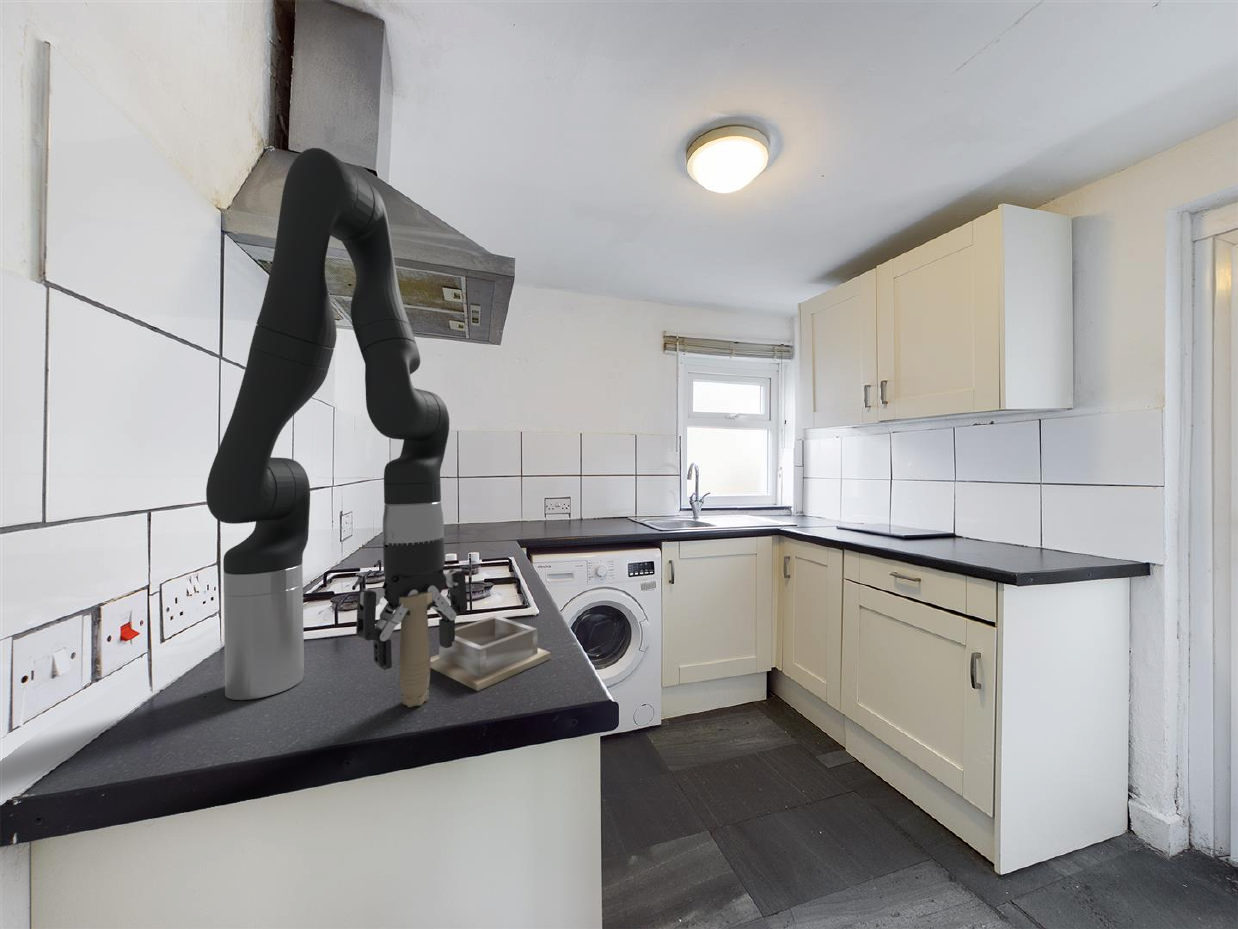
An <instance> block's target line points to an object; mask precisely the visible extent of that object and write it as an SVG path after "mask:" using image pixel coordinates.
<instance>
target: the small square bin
mask: <svg viewBox="0 0 1238 929" xmlns="http://www.w3.org/2000/svg"><path fill="white" fill-rule="evenodd" d="M538 639H539V638H538V628H536V627H534V626H531V625H526V624H523V623H521V622H517V621H515V620H512V619H507V618H505V617H501V616H498V615H494V616H491V617H488V618H484V619H480V620H477V621H474V622H471V623H468V624H464V625H461V626H459V627H455V640H454V642H452V647H449V648H444V647H442V646H441V645H440V642H439V641H438V644H439V646H438V648H439V649H438V654H436V655H433V656H430V669H432V670H434V671H435V672H439V673H440V674H443V676H447V677H448V678H451V679H453V680H454V681H457V682H458V683H461V684H462V685H465V686H466V687H468V688H470V689H472V690H475V691H476V692H479V691H481V690H483V689H486V688H488V687H490V686H493V685H495V684H497V683H499V682H501V681H504V680H506V679H509V678H511V677H513V676H515V675H517V674H519V673H521V672H524V671H526V670H529V669H530V668H531V669H532V668H533V667H535V666H537V665H539V664H543V663H545V662H546V661H549V660H551V659H552V652H550V651H547V650H545V649H542V648H539V646H538V645H539V644H538Z"/></svg>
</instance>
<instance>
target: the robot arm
mask: <svg viewBox="0 0 1238 929" xmlns="http://www.w3.org/2000/svg"><path fill="white" fill-rule="evenodd" d="M279 209H280V210H279V216H278V224H277V232H276V239H275V243H274V244H275V246H274V252H273V258H272V262H271V267H270V272H269V275H268V281H267V285H266V289H265V294H264V297H263V301H262V304H261V309H260V311H259V315H258V317H257V320H256V323H255V324H256V325H255V327H254V330H253V335H252V339H251V343H250V346H249V351H248V356H247V361H246V365H245V366H246V367H245V370H244V374H243V378H242V380H241V384H240V387H239V391H238V394H237V398H236V401H235V404H234V408H233V411H232V415H231V416H230V419H229V421H228V424H227V427H226V430H225V432H224V434H223V437H222V440H221V441H220V444H219V448H218V449H217V453H216V454H215V457H214V459H213V462H212V464H211V468H210V470H209V473H208V477H207V483H206V487H205V488H206V489H205V490H206V491H205V494H206V495H205V496H206V499H205V500H206V504H207V507H208V511H209V512H210V514H211V515H212V517H214V518H215V519H216V520H218V521H219V522H221V523H224V524H230V525H231V524H238V525H239V524H248V523H255V525H254V526H255V527H254V529H253V531H252V532H251V534H250V535H249V536H248V537H246V538H245V539H244V540H243V541H241V542H239V543H238V544H237V545H234V546H232V547H231V548H230V549H229V548H228V550H226V552H225V554H224V555H223V561H222V562H223V564H222V566H223V615H224V616H223V617H224V618H223V619H224V620H223V623H224V624H223V625H224V626H223V628H224V630H223V631H224V632H223V633H224V635H223V636H224V639H223V640H224V696H225V697H226V698H227V699H229V700H235V701H237V700H238V701H245V700H255V699H260V698H264V697H270V696H272V695H276V694H279V693H282V692H284V691H288V690H289V689H291V688H293V687H295V686H296V685H298V684H300V683H301V682H302V681H303V679H304V676H305V673H304V672H305V667H304V666H305V664H304V662H305V659H304V658H305V657H304V656H305V654H304V652H305V651H304V648H305V647H304V645H305V644H304V643H305V642H304V584H303V583H304V580H303V579H304V578H303V573H304V572H303V559H304V558H303V555H304V552H305V549H306V547H307V544H308V541H309V533H310V532H309V531H310V530H309V527H310V512H311V510H310V509H311V485H310V481H309V480H310V479H309V476H308V474H307V472H306V469H305V468H304V467H303V465H301V463H299V461H296V460H295V459H292V458H288V457H276V456H275V457H272V454H273V450H274V447H275V444H276V443H277V440H278V438H279V436H280V433H281V432H282V430H283V429H284V427H285V426H286V425H287V423H288V422H289V421H290V420H291V418H293V417H294V415H296V413H298V412H299V410H300V409H301V408H303V407H304V406H305V404H307V403H308V401H309V400H310V399H311V398H312V397H313V396H314V395H315V394H316V393H317V392H318V391H319V389H320V388H321V386H322V385H323V384H324V382H325V380H326V378H327V374H328V372H329V368H330V365H331V361H332V358H333V354H334V350H335V347H336V342H337V336H338V335H337V324H336V320H335V319H336V317H335V314H334V311H333V306H332V301H331V298H330V294H329V289H328V285H327V279H326V258H327V252H328V248H329V242H330V239H331V237H333V238H334V239H336V240H338V241H340V242H341V243H342V244H343V246H344V248H345V249H346V252H347V254H348V255H349V257H350V260H351V262H352V264H353V269H354V271H355V286H354V290H353V293H352V298H351V302H350V318H351V324H352V328H353V331H354V336H355V338H356V341H357V344H358V348H359V350H360V354H361V357H362V359H363V362H364V367H365V370H364V383H365V384H364V385H365V386H364V388H365V404H366V410H367V414H368V417H369V419H370V421H371V423H372V425H373V426H374V428H375V429H376V430H377V431H378V432H379V433H380V434H381V435H382V436H384V437H386V438H388V439H392V440H401V441H402V440H403V442H402V443H403V444H402V448H401V451H400V455H399V457H397V458H395V459H393V460H390V461H389V462H387V463H386V464H385V467H384V469H383V470H384V471H383V502H384V503H383V504H384V505H383V506H384V507H383V515H382V550H383V551H382V552H383V558H382V560H383V576H384V582H383V585H382V586H381V587H379V588H378V587H377V588H371V589H370V588H369V589H368V588H360V589H359V590H358V591H357V604H356V628H355V630H356V631H355V634H356V636H357V637H359V638H362V639H364V640H365V641H373V661H374V664H375V665H377V666H378V667H379V668H380V669H382V670H384V671H387V670H389V669H392V668H393V665H392V664H393V662H392V661H393V660H392V639H391V638H390V636H391V635H392V633H393V632H394V630H395V628H396V626H398V625H399V624H401V621H402V619H403V617H404V616H405V615H408V616H409V615H410V611H409V610H408V609H407V608H404V607H403V603H401V604H399V597H403V596H405V597H411V596H415V595H418V593H420V592H432V591H433V602H431V603H430V604H429V605H428V606H427V611H430V610H431V609H433V610H434V611H435V612H436V614H438V615H439V617H440V618H439V619H438V629H439V630H438V631H439V633H438V643H439V642H440V645H441V646H442V647H444V648H449V647H452V642H454V640H455V628H456V619H457V617H458V616H459V615H460V614H462V613H466V612H467V610H468V596H467V583H466V581H467V580H466V574H465V572H464V571H462V570H457V569H450V570H449V571H448V572H447V573H445V572H444V567H445V532H444V531H445V527H444V512H443V508H442V502H441V501H442V493H441V492H442V491H441V489H442V488H441V487H442V485H441V484H442V483H441V468H442V465H443V461H444V458H445V454H446V448H447V444H448V439H449V434H450V433H449V432H450V415H449V414H450V413H449V412H448V408H447V405H446V403H445V402H444V400H443V399H442V398H441V397H440V396H439V395H437V394H435V393H434V392H431V391H428V390H423V389H419V388H415V387H414V386H413V382H412V380H411V375H412V374H414V373H415V372H416V371H417V370H418V369H419V368H420V365H421V356H420V351H419V348H418V344H417V342H416V338H415V336H414V333H413V329H412V327H411V324H410V321H409V318H408V315H407V312H406V309H405V305H404V303H403V299H402V298H403V297H402V294H401V290H400V286H399V280H398V276H397V268H396V262H395V258H394V252H393V244H392V239H391V237H392V236H391V230H390V225H389V224H390V223H389V219H388V218H389V217H388V214H387V209H386V205H385V202H384V199H383V197H382V196H381V194H380V193H379V191H378V190H377V188H375V187H374V186H373V184H371V183H370V182H369V181H368V180H366V179H365V178H364V177H362V176H361V175H360V174H358V173H357V172H356V171H354V169H352V168H351V167H350V166H348V165H347V164H346V163H345V162H343V161H342V160H341V159H339V158H338V157H336V155H334V154H332V153H331V152H329V151H328V150H325V149H324V148H323V149H322V148H320V147H311V148H307V149H305V150H304V151H302V152H300V153H299V154H298V155H297V156H296V157H295V158H294V160H293V162H292V164H291V165H290V167H289V169H288V172H287V174H286V177H285V181H284V184H283V189H282V195H281V202H280V208H279ZM446 586H447V587H448V589H449V599H450V600H449V601H448V600H446V598H445V597H444V596H443V595H442V592H443V590H444V588H445V587H446ZM383 598H384V600H385V601H386V604H385V605H384V607H383V608H382V610H381V612H380V614H379V619H378V620H377V622H376V614H377V613H376V612H377V611H376V610H377V606H378V605H379V604H380V602H381V599H383Z"/></svg>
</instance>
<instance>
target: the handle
mask: <svg viewBox="0 0 1238 929" xmlns="http://www.w3.org/2000/svg"><path fill="white" fill-rule="evenodd" d="M431 602H433V591H432V592H420V593H418V595H415V596H411V597H405V596H403V597H399V604H401V603H403V607H404V608H407V609H408V610H409V611H410V615H409V616H408V615H405V616H404V617H403V619H402V621H401V622H400V636H399V637H400V638H399V653H398V654H399V655H398V657H399V658H398V662H399V663H398V666H399V667H398V670H399V671H398V673H399V681H400V682H399V684H400V692H401V696H400V697H401V702H402V704H403V705H405V706H407V708H413V707H417V706H422V705H423V704H424V702H426V701H427V700H428V699H429V695H430V689H428V688H429V686H430V680H431V668H430V657H431V646H430V645H431V644H430V633H429V632H430V631H429V618H428V617H429V616H428V610H427V606H428V605H429V604H430V603H431Z"/></svg>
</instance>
